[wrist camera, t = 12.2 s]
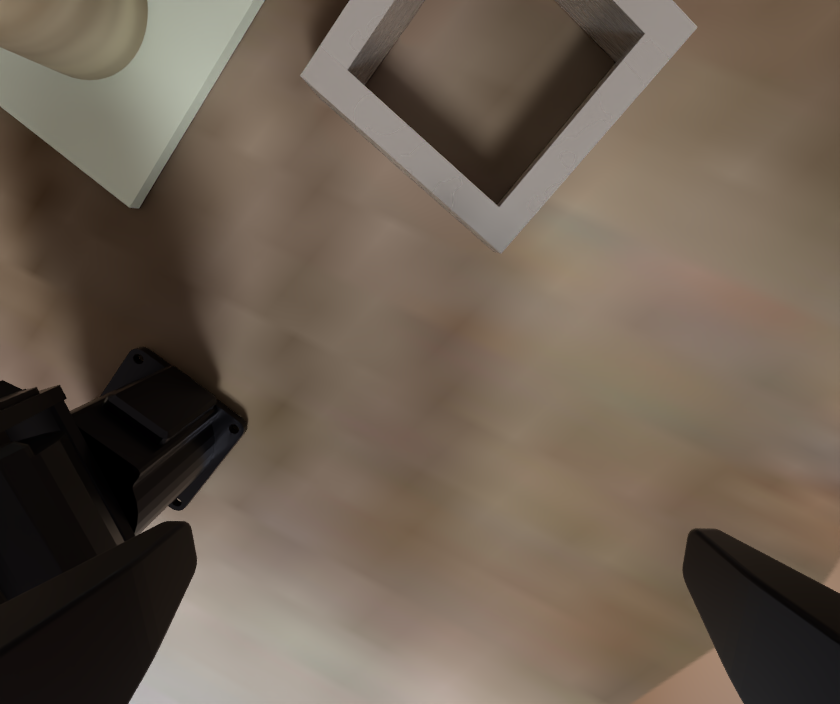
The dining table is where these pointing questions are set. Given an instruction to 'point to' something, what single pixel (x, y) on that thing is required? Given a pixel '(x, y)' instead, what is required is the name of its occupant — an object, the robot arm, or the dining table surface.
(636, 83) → the grey square frame
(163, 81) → the sage board
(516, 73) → the dining table surface
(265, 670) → the dining table surface
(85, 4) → the maple peg
